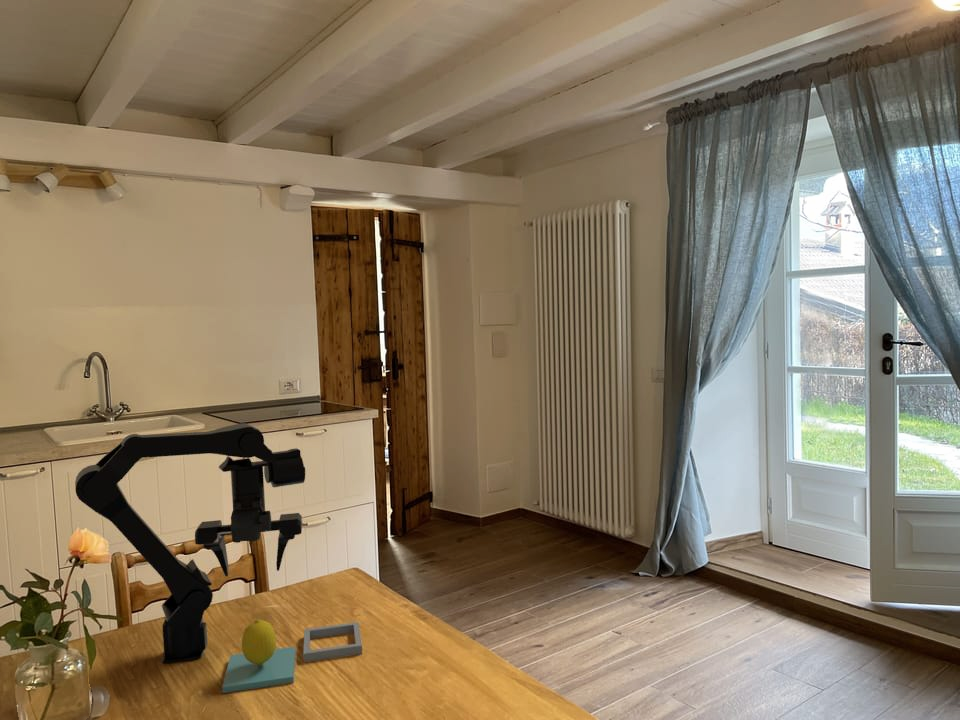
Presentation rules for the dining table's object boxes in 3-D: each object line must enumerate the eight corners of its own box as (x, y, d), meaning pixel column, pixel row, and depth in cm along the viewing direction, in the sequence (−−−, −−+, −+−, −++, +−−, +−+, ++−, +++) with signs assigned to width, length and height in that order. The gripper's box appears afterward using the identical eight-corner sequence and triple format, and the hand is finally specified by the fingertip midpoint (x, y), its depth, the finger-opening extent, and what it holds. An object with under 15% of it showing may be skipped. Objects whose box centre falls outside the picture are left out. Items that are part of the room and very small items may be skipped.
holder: (303, 662, 120) (303, 653, 120) (304, 637, 129) (304, 629, 129) (362, 653, 122) (361, 645, 122) (358, 629, 132) (358, 621, 132)
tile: (222, 693, 110) (222, 687, 110) (230, 660, 121) (230, 655, 121) (293, 682, 113) (293, 676, 113) (295, 651, 124) (295, 646, 124)
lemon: (246, 677, 113) (243, 629, 113) (240, 663, 118) (238, 617, 118) (280, 668, 116) (278, 621, 115) (273, 654, 121) (271, 610, 120)
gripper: (186, 507, 119) (192, 595, 120) (297, 497, 124) (302, 582, 124) (198, 492, 130) (203, 573, 131) (300, 483, 134) (304, 562, 135)
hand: (252, 572), depth 130 cm, fingers open, 9 cm apart
